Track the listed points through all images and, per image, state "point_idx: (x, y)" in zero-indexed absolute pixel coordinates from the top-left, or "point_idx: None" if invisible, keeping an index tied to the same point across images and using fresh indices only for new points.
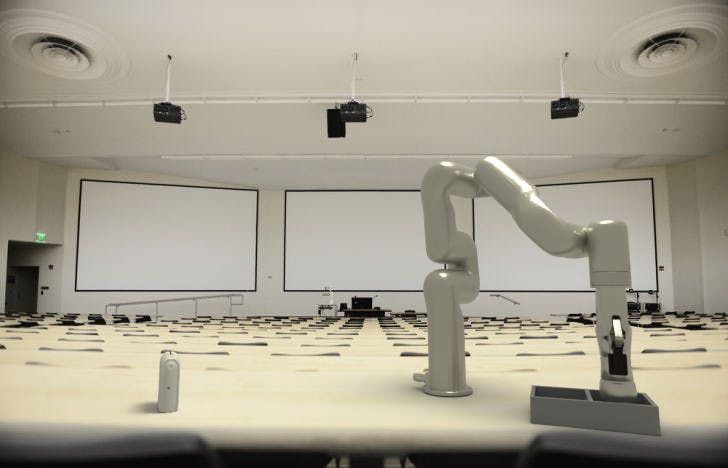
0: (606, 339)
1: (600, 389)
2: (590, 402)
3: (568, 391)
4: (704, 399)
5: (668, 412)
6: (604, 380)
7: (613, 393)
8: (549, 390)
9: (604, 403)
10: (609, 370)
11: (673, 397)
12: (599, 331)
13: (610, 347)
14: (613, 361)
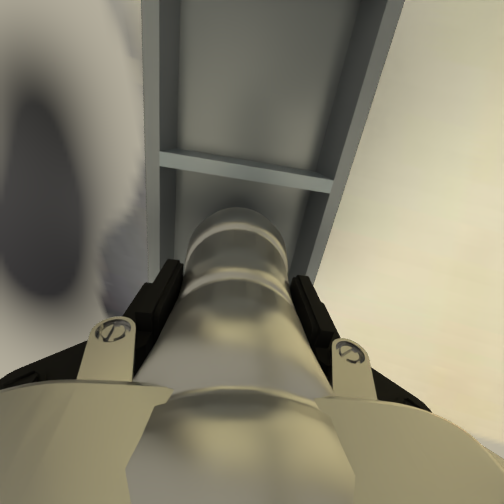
0: None
1: (228, 212)
2: (145, 153)
3: (345, 122)
4: (426, 403)
5: (338, 333)
6: (211, 234)
7: (190, 238)
8: (369, 40)
9: (147, 194)
10: (165, 265)
11: (448, 371)
12: (70, 442)
13: (84, 352)
14: (134, 303)
